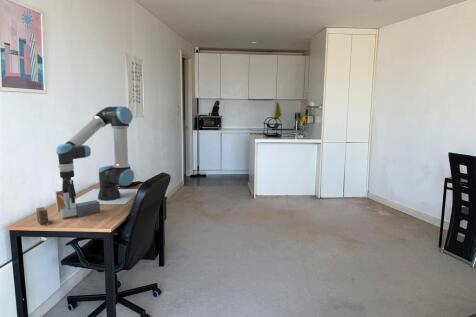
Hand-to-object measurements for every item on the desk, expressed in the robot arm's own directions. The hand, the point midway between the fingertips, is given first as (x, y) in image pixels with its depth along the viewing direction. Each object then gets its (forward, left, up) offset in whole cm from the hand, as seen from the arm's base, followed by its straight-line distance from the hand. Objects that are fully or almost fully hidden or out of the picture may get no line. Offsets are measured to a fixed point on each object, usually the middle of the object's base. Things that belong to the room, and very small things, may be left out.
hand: (70, 205), depth 207 cm
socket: (+15, 0, -7) cm, 17 cm away
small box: (-1, -20, -7) cm, 21 cm away
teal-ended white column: (-4, 0, -6) cm, 7 cm away
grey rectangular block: (-10, 0, -7) cm, 12 cm away
